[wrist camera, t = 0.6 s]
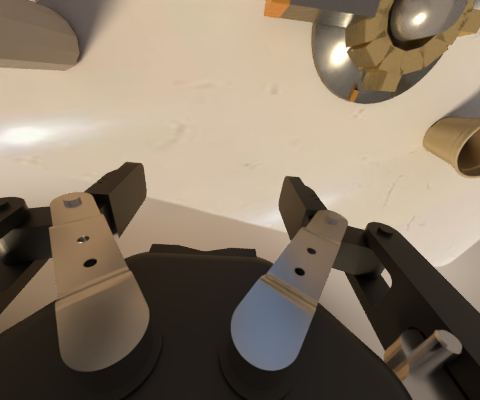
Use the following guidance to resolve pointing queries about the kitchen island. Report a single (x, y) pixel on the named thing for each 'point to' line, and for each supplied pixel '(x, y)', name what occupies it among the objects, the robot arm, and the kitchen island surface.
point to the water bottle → (35, 37)
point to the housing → (399, 31)
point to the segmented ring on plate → (375, 36)
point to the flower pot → (456, 144)
